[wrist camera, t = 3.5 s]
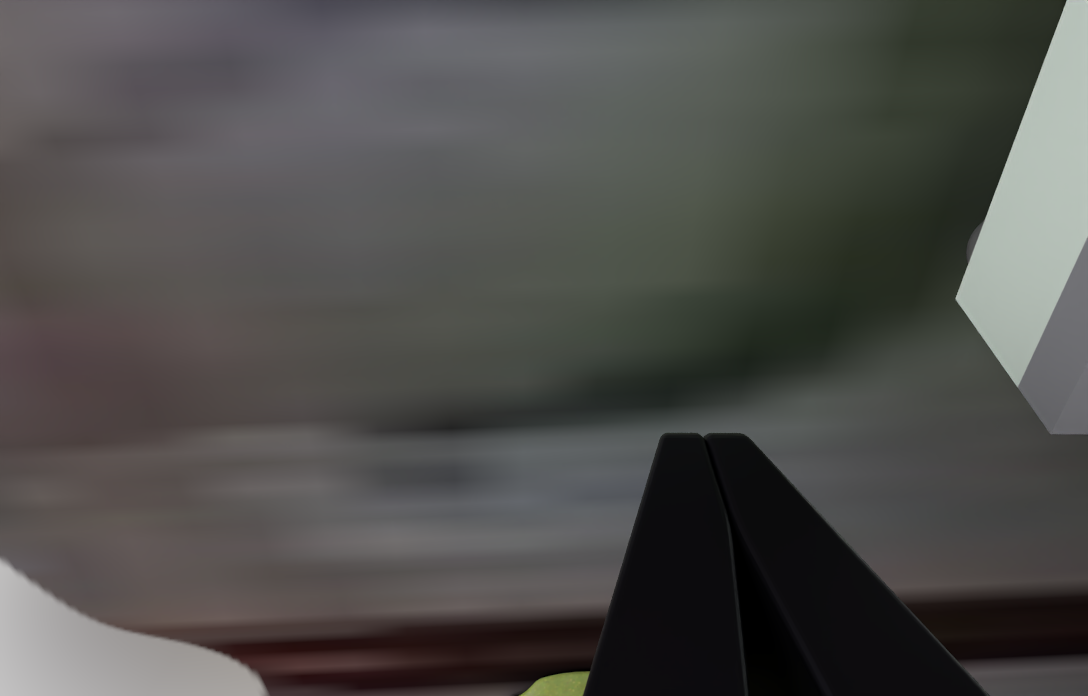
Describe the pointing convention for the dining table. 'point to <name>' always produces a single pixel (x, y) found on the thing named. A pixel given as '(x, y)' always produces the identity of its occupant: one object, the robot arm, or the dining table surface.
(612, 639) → the robot arm
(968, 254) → the pale green box
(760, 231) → the dining table surface
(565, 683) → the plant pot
